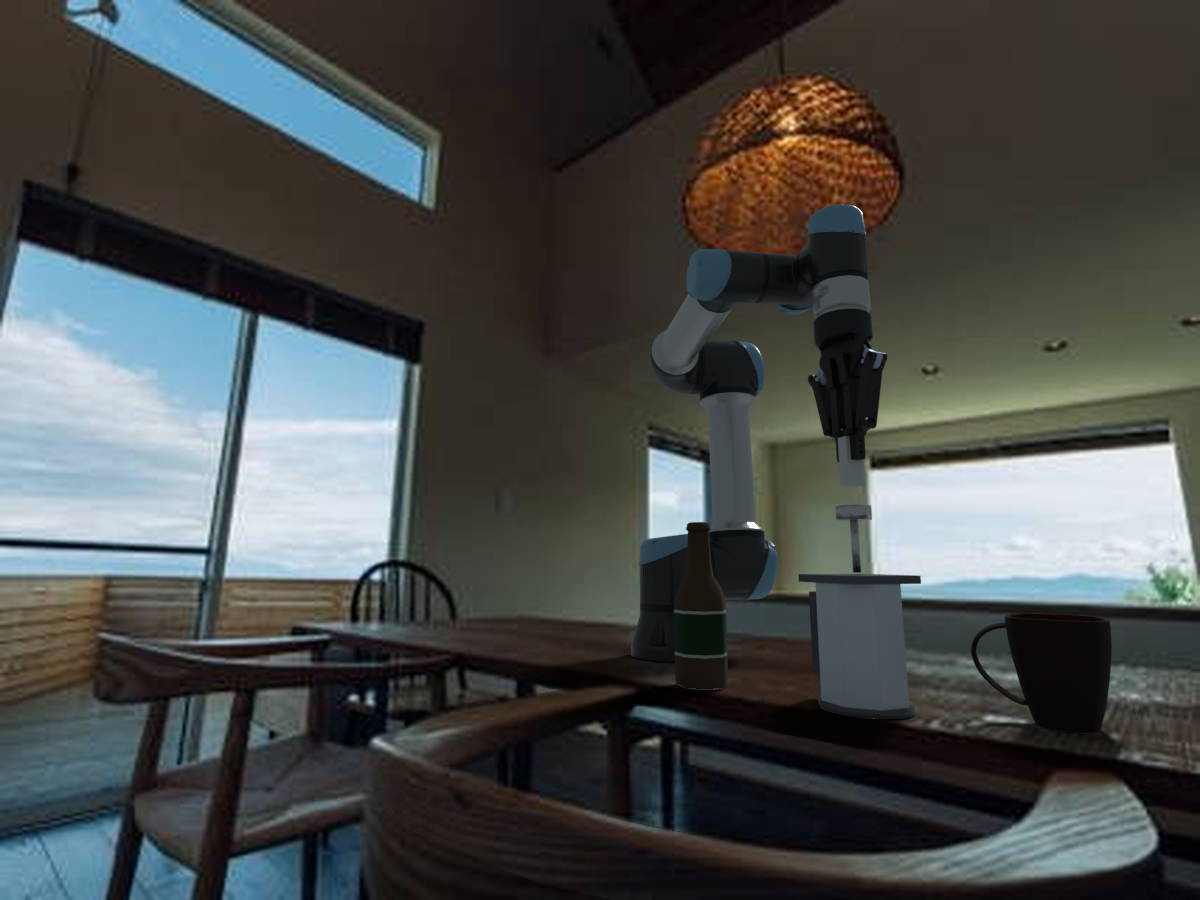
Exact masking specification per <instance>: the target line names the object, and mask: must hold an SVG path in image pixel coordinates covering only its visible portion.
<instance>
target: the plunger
mask: <svg viewBox="0 0 1200 900" xmlns="http://www.w3.org/2000/svg"><path fill="white" fill-rule="evenodd" d="M834 506H835V505H834ZM834 508H835V521H840V522H841V521H843V522H845V521H846V522H847V521H848V522H849V528H850V543H851V544H850V545H851V558H852V559H851V560H852V561H851V562H852V573H853V574H862V563H861V561H862V560H861V547H860V546H861V545H860V531H859V529H860V528H859V521H871V520H873V515H872V514H873V513H872V511H873V510H872V505H871V504H842V505H836V506H835V507H834Z"/></svg>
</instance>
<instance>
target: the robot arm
mask: <svg viewBox="0 0 1200 900" xmlns="http://www.w3.org/2000/svg"><path fill="white" fill-rule="evenodd" d="M864 220H865V219H864V215H863V212H862V211H861V210H860V208H859V207H857V206H855V205H852V204H843V203H840V204H839V203H838V204H837V203H836V204H831V205H827V206H825V207H822V208H820V209H818V210H816V211H815V212H814V213H812V215H811V216H810V218H809V220H808V224H807V233H806V236H807V238H808V241H807V244H806V245H805V246H804V247H803V248H802V249H801V250H800V251H799V252H798V253H797V254H783V253H773V252H772V253H769V252H756V251H753V252H752V251H743V250H731V249H730V250H728V249H724V248H719V247H718V248H712V249H711V248H710V249H704V248H703V249H698V250H696V251H694V252H693V253H692V255H691V256H690V258H689V264H688V266H687V270H686V278H685V279H686V280H685V281H686V290H687V293H688V294H687V295H686V298H684V301H683V303H682V304H681V305H680V307H679V309H678V310H677V312H676V314H675V315H674V317H673V318H672V321H671V322H670V323H669V326H668V327H667V329H666V330H664V331H662V332H660V333H659V334H658V335H657V336H656V337H655V339H654V340H653V342H652V344H651V346H650V348H649V352H648V353H649V354H648V362H649V366H650V369H651V372H652V374H653V376H654V377H655V379H657V380H658V382H660V383H661V385H663V387H666V388H667V389H668V390H671V391H672V392H675V393H680V394H688V395H699V404H700V406H701V407H702V408H703V409H704V410H705V411H706V412H707V423H708V424H707V425H708V427H707V429H708V446H709V463H710V464H709V466H710V467H709V468H710V469H709V470H710V489H711V491H710V493H711V508H712V509H711V510H712V524H710V528H711V530H710V531H709V541H710V552H711V564H712V570H713V575H714V577H715V579H716V580H717V582H718V583H719V585H720V586H721V589H722V591H723V594H724V597H725V601H726V600H727V601H730V600H732V601H735V600H736V601H739V600H740V601H748V600H759V599H760V600H761V599H764V598H765V597H766V596H768V595H769V594H770V593H771V591H772V589H773V587H774V586H775V583H776V580H777V574H778V566H779V559H778V552H777V550H776V546H775V544H774V543H773V542H772V541H771V540H769V539H765V530H764V528H762V527H761V526H760V525H759V524H758V523H757V518H756V517H757V516H756V503H755V501H756V500H755V499H756V498H755V487H754V485H755V484H754V470H753V469H754V467H753V455H752V453H753V452H752V438H751V435H752V434H751V421H750V409H751V407H752V406H753V405H754V404H756V401H757V399H756V397H758V396H760V394H761V393H762V391H763V389H764V386H765V381H764V379H766V378H765V377H766V368H765V363H764V359H763V356H762V353H761V352H760V350H759V349H758V347H757V346H756V345H754V344H753V343H751V342H745V341H739V340H736V339H735V340H734V339H733V340H718V339H711V338H712V335H713V334H714V333H715V332H716V331H717V330H718V328H719V327H720V325H721V324H722V323H723V322H724V320H725V319H726V318H727V316H728V315H729V314H730V313H731V311H732V310H733V308H735V306H737V304H738V303H750V304H751V303H752V304H753V303H755V304H769V305H773V306H774V307H775V308H776V309H777V310H780V312H783V313H784V314H786V315H793V316H795V315H800V314H803V313H805V312H806V311H808V310H809V309H812V310H813V311H812V315H813V318H814V319H815V320H814V321H813V337H814V345H815V346H816V347H817V348H818V350H819V351H820V358H819V362H818V363H819V364H818V365H819V368H818V370H817V371H816V373H815V374H809V376H807V382H808V384H809V385H810V387H811V389H812V390H813V395H814V399H815V402H816V403H815V404H816V408H817V413H818V416H819V420H820V425H821V429H822V433H823V435H824V436H825V437H829V438H833V439H834V440H835V451H836V452H835V453H836V460H837V463H839V480H840V487H844V488H846V487H847V488H848V487H849V488H862V487H865V486H866V481H865V480H866V479H865V467H864V466H865V464H864V460H866V454H867V453H866V442H865V441H866V440H865V436H866V435H867V433H868V432H869V431H870V430H871V429H872V430H873V429H876V428H877V426H878V425H877V424H878V415H879V406H880V405H879V404H880V398H881V397H880V396H881V388H882V378H883V371H884V368H885V365H886V363H887V360H888V353H886V352H880V351H875V350H874V349H872V345H871V343H870V342H871V341H872V340H873V337H874V333H873V321H872V320H873V319H872V314H871V313H870V312H871V310H872V307H871V306H872V305H871V293H870V292H871V291H870V283H869V266H868V265H869V264H868V247H867V232H866V229H865V221H864ZM687 544H688V533H684V534H674V535H667V536H660V537H651V538H646V539H644V540H643V541H642V542H641V543H640V548H639V557H638V558H639V559H638V560H639V561H638V565H639V617H638V620H637V624H636V627H635V631H634V634H633V636H632V639H631V640H632V641H631V644H630V655H631V657H633V658H635V659H639V660H645V661H653V662H672V663H673V662H674V663H675V635H674V603H675V595H676V592H677V589H678V586H679V585H680V583H681V582H682V580H683V578H684V577H685V573H686V566H687Z"/></svg>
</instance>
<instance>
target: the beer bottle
mask: <svg viewBox="0 0 1200 900" xmlns="http://www.w3.org/2000/svg"><path fill="white" fill-rule="evenodd" d="M710 527H711V524H710V523H708V522H706V521H703V522H702V521H692V522H688V523H686V528H685V531H687V534H688V544H687V566H686V573H685V577H684V578H683V580H682V582H681V583H680V585H679V586H678V589H677V592H676V595H675V603H674V635H675V662H674V672H675V673H674V675H675V684H678V685H681V686H683V687H685V688H696V689H713V688H723V687H725V686H726V685H728V679H729V678H728V677H729V675H728V674H729V673H728V672H729V671H728V668H729V667H728V664H729V663H728V635H727V631H728V630H727V608H726V607H727V606H726V600H725V597H724V594H723V591H722V589H721V586H720V585H719V583H718V582H717V580H716V579H715V577H714V575H713V570H712V564H711V552H710V541H709V531H710V530H711V528H710ZM726 687H727V686H726ZM726 687H725V688H726Z"/></svg>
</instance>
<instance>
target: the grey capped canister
mask: <svg viewBox="0 0 1200 900" xmlns="http://www.w3.org/2000/svg"><path fill="white" fill-rule="evenodd" d="M921 578H922V576H921V575H915V574H913V575H912V574H911V575H909V574H882V573H881V574H878V573H876V574H875V573H802V574H801V573H798V583H800V582H801V583H814V584H815V591H814V590H813V591H810V590H809V591H808V599H809V600H808V601H809V617H810V643H811V661H812V663H811V665H812V674H814V675H815V674H816V675H819V676H820V677H819V678H820V695H818V696H817V701H818V703H817V704H819V706H820V707H822V708H824V709H826V710H828V711H831V712H834V713H837V714H840V715H839V716H841V715H844V716H843V717H846V716H848V718H852V717H856V718H855V719H860V718H863V719H862V720H871V718H875V719H877V718H878V719H898V720H903V719H902V718H906V719H909V718H908V717H910V718H912V716H913V717H914V716H915V715H916V707H915V705H916V704H915V703H914V702H913V701H911V700H910V698H909V685H908V684H909V683H908V682H909V681H908V670H907V668H908V667H907V656H906V642H905V631H904V630H905V629H904V628H905V627H904V626H905V625H904V616H903V601H902V589H901V587H902V586H901V585H918V584H919V585H922V579H921ZM819 706H818V707H819ZM868 718H870V719H868Z"/></svg>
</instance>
